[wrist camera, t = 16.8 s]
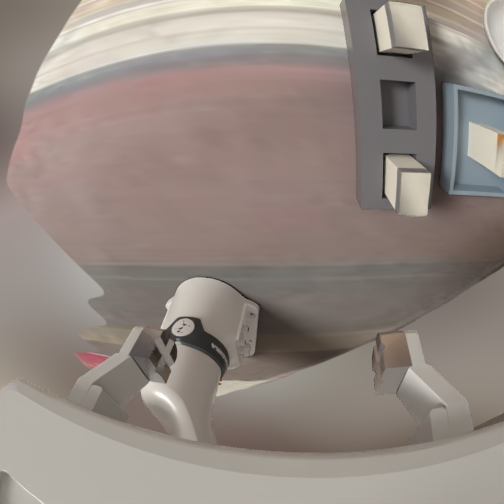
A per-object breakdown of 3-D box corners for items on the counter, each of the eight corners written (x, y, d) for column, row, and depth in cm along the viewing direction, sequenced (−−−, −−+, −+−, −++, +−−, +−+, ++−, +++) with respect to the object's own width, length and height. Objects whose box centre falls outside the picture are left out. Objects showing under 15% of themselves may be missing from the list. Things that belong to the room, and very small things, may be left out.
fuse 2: (403, 186, 35) (426, 216, 28) (380, 186, 36) (398, 216, 28) (405, 151, 32) (431, 173, 25) (381, 151, 33) (401, 172, 26)
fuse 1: (400, 55, 25) (428, 50, 18) (374, 53, 26) (396, 46, 19) (395, 20, 23) (421, 6, 15) (369, 18, 23) (388, 1, 16)
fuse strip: (420, 197, 36) (430, 209, 33) (356, 197, 38) (361, 209, 35) (413, 11, 22) (424, 6, 18) (339, 5, 24) (343, -3, 21)
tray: (497, 188, 32) (509, 197, 29) (439, 184, 34) (448, 194, 32) (504, 96, 24) (517, 99, 21) (441, 82, 26) (453, 84, 24)
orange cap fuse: (485, 157, 29) (519, 179, 22) (467, 155, 30) (500, 177, 23) (487, 124, 27) (523, 140, 19) (469, 121, 28) (504, 136, 20)
